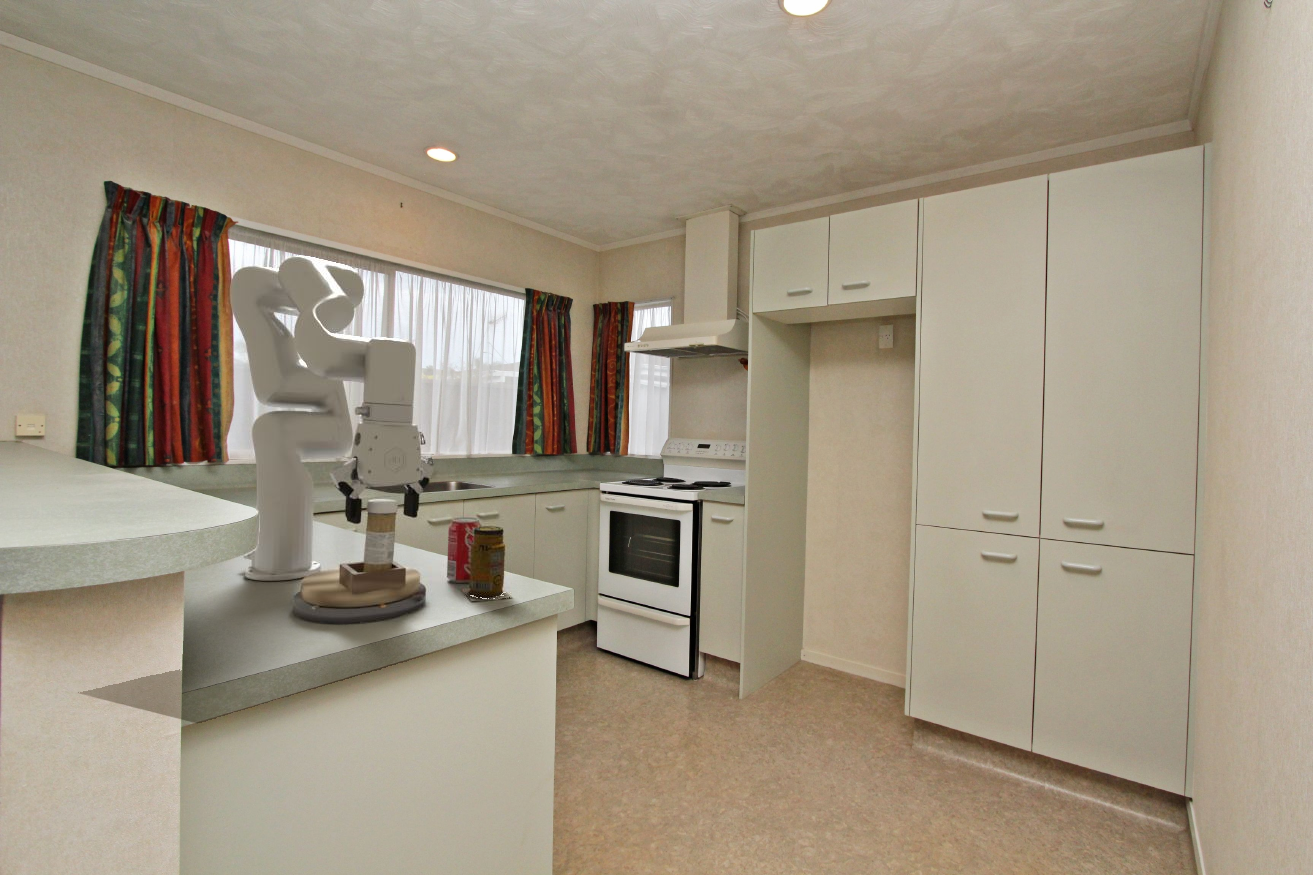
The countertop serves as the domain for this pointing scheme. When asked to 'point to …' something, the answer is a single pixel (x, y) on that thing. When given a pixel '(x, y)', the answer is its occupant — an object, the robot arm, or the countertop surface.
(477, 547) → the condiment
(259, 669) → the countertop surface
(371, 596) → the dial
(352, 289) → the robot arm
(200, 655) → the countertop surface
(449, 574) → the beverage can
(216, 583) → the countertop surface
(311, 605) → the dial plate
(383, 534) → the sprinkles bottle
